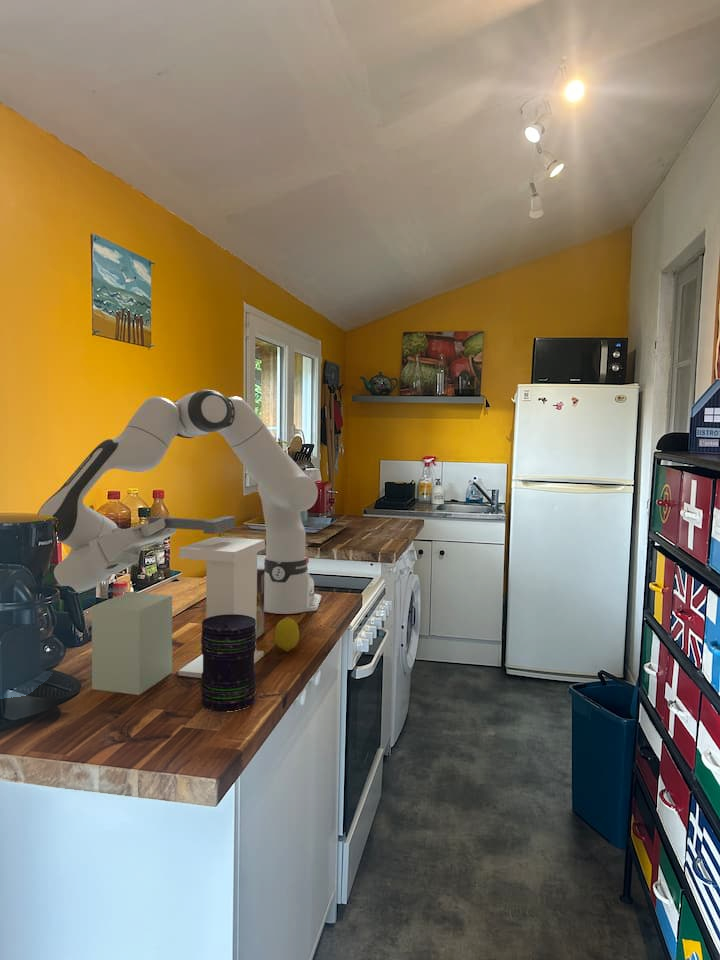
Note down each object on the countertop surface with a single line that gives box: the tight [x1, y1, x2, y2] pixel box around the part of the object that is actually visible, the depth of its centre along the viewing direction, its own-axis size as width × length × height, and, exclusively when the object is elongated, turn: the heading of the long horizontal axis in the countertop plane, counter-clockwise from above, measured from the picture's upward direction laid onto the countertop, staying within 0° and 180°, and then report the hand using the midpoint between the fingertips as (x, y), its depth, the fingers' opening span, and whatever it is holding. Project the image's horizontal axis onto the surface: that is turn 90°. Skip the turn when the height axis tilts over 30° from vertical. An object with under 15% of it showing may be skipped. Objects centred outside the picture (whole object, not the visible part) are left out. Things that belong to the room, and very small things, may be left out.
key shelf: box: [177, 536, 266, 679], centre depth 137 cm, size 16×12×26 cm
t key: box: [148, 515, 236, 535], centre depth 137 cm, size 10×17×2 cm, turn 77°
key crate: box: [91, 591, 173, 696], centre depth 127 cm, size 12×10×16 cm
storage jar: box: [200, 614, 257, 713], centre depth 118 cm, size 10×10×15 cm
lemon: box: [274, 616, 300, 653], centre depth 147 cm, size 6×6×8 cm
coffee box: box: [256, 568, 265, 640], centre depth 156 cm, size 9×6×16 cm
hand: (169, 520), depth 138 cm, fingers closed on t key, 2 cm apart
